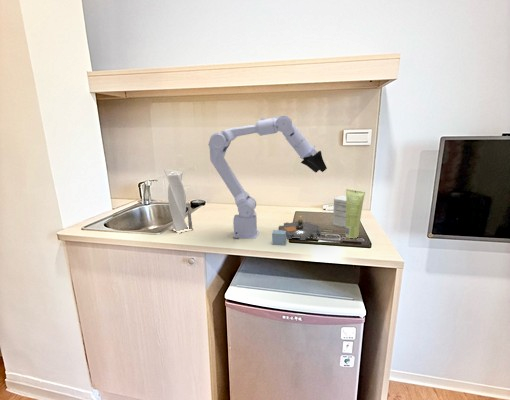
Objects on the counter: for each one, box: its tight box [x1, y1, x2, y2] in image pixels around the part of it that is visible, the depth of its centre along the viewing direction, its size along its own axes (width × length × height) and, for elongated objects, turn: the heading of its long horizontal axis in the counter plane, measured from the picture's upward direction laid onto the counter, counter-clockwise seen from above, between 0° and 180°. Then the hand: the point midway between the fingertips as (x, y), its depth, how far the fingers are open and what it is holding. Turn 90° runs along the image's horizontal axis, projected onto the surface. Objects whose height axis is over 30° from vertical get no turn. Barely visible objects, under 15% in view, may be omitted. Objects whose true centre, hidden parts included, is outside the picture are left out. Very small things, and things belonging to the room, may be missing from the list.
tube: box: [344, 188, 366, 238], centre depth 109 cm, size 6×5×20 cm
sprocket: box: [278, 214, 322, 241], centre depth 117 cm, size 18×18×6 cm
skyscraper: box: [164, 169, 194, 231], centre depth 122 cm, size 8×8×28 cm
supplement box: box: [332, 195, 346, 228], centre depth 124 cm, size 7×7×13 cm
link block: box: [271, 229, 287, 246], centre depth 107 cm, size 5×4×5 cm
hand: (321, 170), depth 107 cm, fingers open, 7 cm apart
